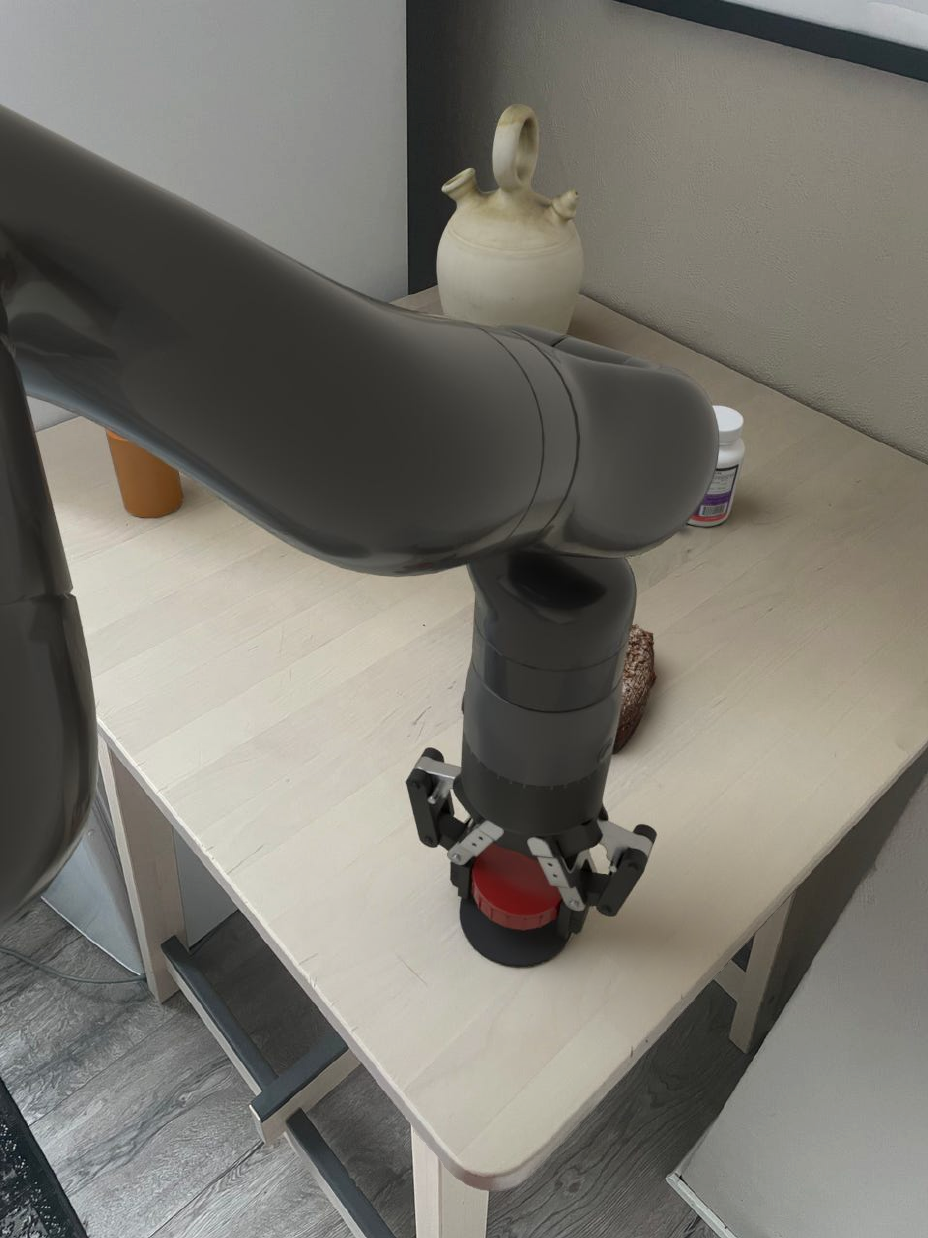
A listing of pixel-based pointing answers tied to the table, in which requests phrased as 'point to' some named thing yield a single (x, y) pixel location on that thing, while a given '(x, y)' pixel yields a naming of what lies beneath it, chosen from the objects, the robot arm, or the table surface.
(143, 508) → the jam jar
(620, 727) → the pastry
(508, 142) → the jug
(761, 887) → the table surface
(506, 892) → the jar lid
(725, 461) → the pill bottle
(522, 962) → the coaster
